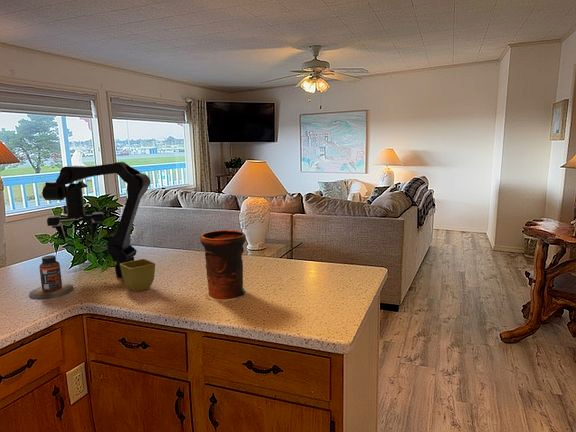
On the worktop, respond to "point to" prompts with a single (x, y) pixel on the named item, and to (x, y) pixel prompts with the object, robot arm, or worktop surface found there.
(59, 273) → the supplement bottle
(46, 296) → the coaster
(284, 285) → the worktop surface
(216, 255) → the vessel
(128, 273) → the flower pot
